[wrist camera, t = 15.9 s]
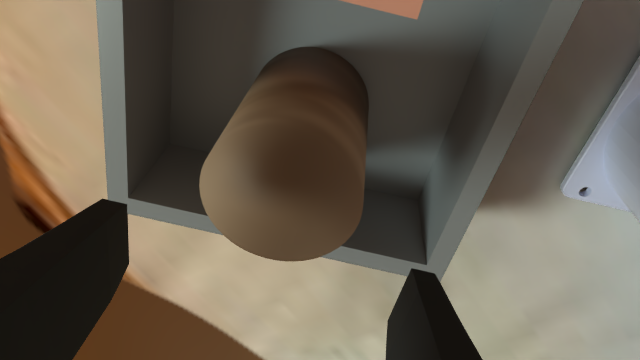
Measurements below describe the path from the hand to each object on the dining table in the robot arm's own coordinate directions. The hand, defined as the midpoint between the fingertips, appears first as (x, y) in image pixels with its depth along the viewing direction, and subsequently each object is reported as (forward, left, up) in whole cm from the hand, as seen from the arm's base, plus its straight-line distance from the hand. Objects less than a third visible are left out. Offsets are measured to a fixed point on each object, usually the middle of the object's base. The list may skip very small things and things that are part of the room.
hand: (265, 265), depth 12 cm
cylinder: (0, 0, -10) cm, 10 cm away
